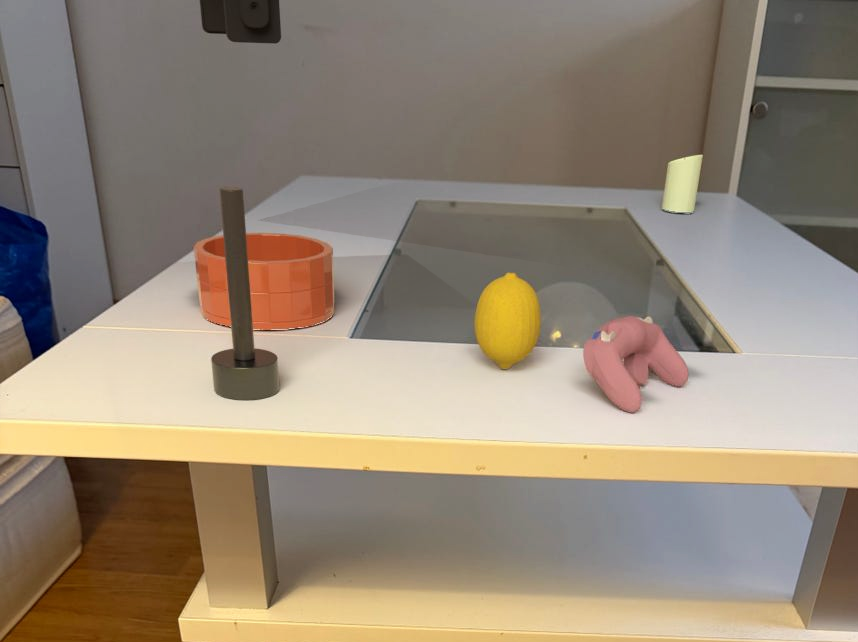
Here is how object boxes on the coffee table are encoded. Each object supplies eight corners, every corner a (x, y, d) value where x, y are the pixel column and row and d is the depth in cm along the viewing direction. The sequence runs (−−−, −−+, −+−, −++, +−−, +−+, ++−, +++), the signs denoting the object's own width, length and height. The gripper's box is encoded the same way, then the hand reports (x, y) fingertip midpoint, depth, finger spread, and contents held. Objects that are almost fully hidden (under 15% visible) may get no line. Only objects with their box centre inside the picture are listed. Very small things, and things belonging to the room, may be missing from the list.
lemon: (462, 361, 85) (466, 266, 81) (520, 356, 87) (527, 263, 83) (488, 382, 81) (493, 282, 77) (547, 376, 83) (556, 279, 79)
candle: (658, 211, 152) (666, 153, 147) (665, 207, 156) (674, 149, 151) (689, 215, 150) (699, 156, 146) (696, 211, 154) (706, 153, 150)
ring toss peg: (220, 402, 74) (200, 195, 66) (209, 381, 78) (189, 182, 70) (285, 397, 76) (274, 194, 68) (272, 376, 80) (259, 182, 72)
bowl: (212, 334, 88) (205, 265, 85) (192, 298, 98) (185, 234, 94) (349, 327, 92) (347, 260, 89) (316, 292, 102) (314, 231, 99)
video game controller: (648, 393, 86) (626, 313, 84) (695, 381, 82) (673, 298, 81) (591, 424, 79) (565, 337, 77) (639, 412, 76) (614, 321, 74)
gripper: (126, -306, 59) (163, 29, 69) (159, -384, 46) (200, 44, 55) (251, -288, 62) (271, 33, 71) (317, -357, 48) (330, 48, 58)
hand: (239, 37), depth 63 cm, fingers open, 9 cm apart
